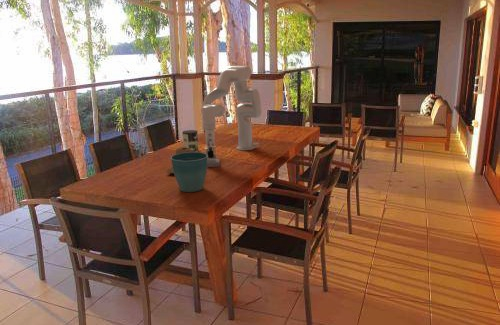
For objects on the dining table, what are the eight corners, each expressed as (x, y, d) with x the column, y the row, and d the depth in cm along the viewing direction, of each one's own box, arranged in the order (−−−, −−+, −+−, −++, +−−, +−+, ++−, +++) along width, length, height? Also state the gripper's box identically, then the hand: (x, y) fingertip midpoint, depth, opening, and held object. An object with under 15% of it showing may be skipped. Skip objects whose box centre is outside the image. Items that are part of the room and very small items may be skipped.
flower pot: (189, 197, 208) (187, 162, 204) (165, 190, 220) (163, 157, 216) (216, 188, 221) (215, 155, 217) (192, 181, 233) (191, 150, 229)
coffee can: (200, 150, 307) (199, 130, 304) (195, 153, 298) (194, 132, 294) (186, 149, 309) (185, 129, 306) (181, 153, 300) (180, 132, 296)
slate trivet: (218, 162, 272) (218, 158, 272) (219, 166, 263) (219, 162, 262) (202, 163, 271) (202, 159, 270) (203, 167, 261) (202, 163, 261)
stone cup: (199, 171, 253) (197, 145, 250) (191, 176, 242) (189, 150, 239) (174, 169, 257) (173, 144, 254) (165, 175, 246) (164, 149, 243)
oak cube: (215, 156, 269) (214, 146, 267) (215, 158, 263) (215, 148, 262) (205, 156, 268) (204, 147, 266) (205, 158, 262) (205, 149, 261)
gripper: (216, 129, 253) (217, 159, 258) (214, 124, 270) (215, 152, 274) (203, 129, 252) (205, 160, 256) (202, 124, 269) (203, 153, 273)
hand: (210, 156), depth 265 cm, fingers closed on oak cube, 6 cm apart
